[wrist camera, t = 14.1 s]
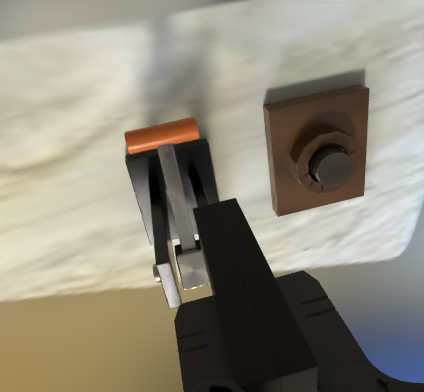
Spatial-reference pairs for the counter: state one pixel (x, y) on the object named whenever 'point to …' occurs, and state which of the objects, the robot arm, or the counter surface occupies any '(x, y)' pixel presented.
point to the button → (330, 166)
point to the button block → (315, 146)
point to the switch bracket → (161, 206)
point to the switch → (175, 191)
